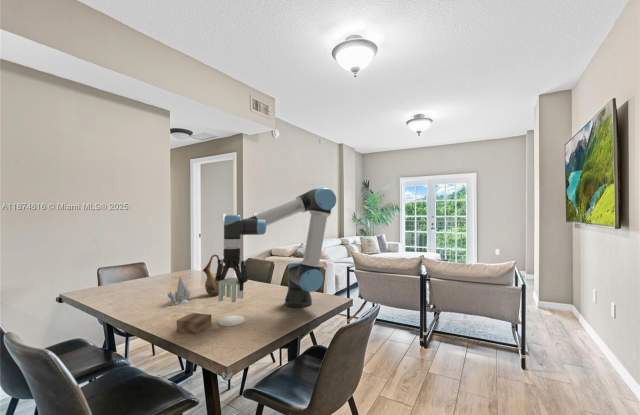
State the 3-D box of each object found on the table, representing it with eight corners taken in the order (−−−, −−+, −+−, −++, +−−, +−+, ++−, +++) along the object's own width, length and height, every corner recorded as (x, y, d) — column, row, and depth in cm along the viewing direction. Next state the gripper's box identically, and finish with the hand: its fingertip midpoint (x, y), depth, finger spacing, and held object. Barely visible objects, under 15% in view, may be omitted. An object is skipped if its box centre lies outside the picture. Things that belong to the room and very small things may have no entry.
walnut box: (211, 325, 137) (211, 314, 137) (197, 334, 128) (197, 322, 128) (192, 323, 140) (192, 312, 140) (176, 332, 130) (176, 320, 130)
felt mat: (249, 318, 147) (249, 316, 147) (236, 327, 135) (236, 325, 135) (227, 316, 150) (227, 314, 150) (212, 325, 138) (212, 323, 138)
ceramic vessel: (208, 299, 180) (208, 256, 180) (198, 296, 185) (198, 255, 185) (229, 293, 194) (230, 253, 194) (220, 291, 199) (220, 252, 199)
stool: (243, 297, 146) (243, 278, 146) (234, 302, 138) (234, 282, 138) (228, 296, 148) (228, 277, 148) (218, 301, 140) (218, 281, 140)
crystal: (161, 305, 168) (162, 278, 168) (179, 299, 180) (179, 273, 180) (176, 307, 165) (176, 279, 165) (193, 300, 177) (193, 274, 178)
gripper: (256, 247, 144) (255, 296, 144) (216, 246, 150) (216, 293, 149) (248, 249, 137) (247, 300, 136) (207, 247, 142) (206, 297, 142)
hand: (231, 296), depth 143 cm, fingers closed on stool, 8 cm apart
